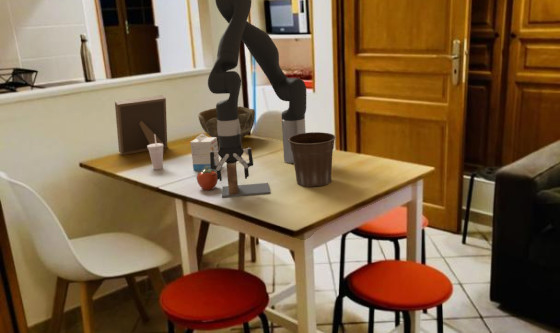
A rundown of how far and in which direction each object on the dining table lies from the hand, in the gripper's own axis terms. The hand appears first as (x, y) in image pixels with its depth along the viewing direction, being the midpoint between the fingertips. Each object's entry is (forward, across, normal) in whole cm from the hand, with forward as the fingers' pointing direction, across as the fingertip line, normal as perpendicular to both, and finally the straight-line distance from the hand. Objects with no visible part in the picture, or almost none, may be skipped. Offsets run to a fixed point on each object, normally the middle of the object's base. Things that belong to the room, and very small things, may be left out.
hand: (233, 179), depth 176 cm
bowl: (+5, +2, -77) cm, 77 cm away
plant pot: (+5, -28, -4) cm, 29 cm away
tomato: (+5, +9, -7) cm, 12 cm away
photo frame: (+5, +40, -68) cm, 79 cm away
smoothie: (+5, +31, -39) cm, 50 cm away
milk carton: (+5, +11, -34) cm, 36 cm away
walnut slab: (+4, 0, +1) cm, 4 cm away
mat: (+5, -4, 0) cm, 6 cm away
